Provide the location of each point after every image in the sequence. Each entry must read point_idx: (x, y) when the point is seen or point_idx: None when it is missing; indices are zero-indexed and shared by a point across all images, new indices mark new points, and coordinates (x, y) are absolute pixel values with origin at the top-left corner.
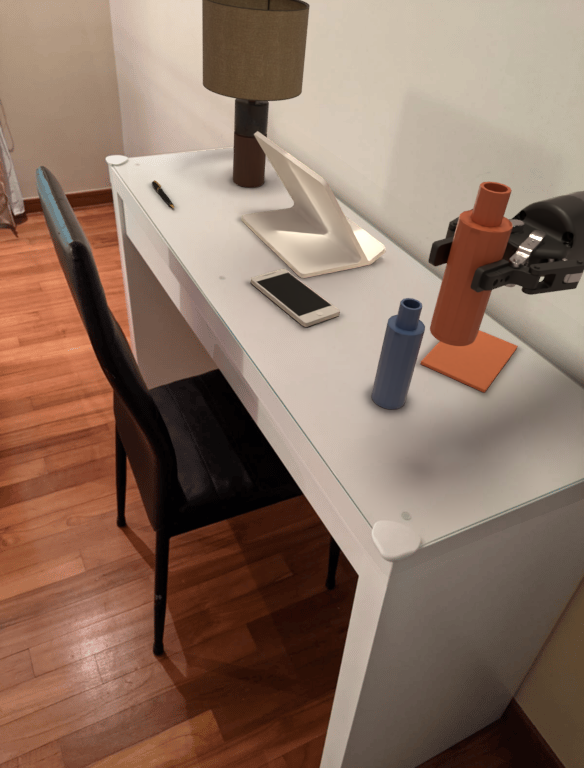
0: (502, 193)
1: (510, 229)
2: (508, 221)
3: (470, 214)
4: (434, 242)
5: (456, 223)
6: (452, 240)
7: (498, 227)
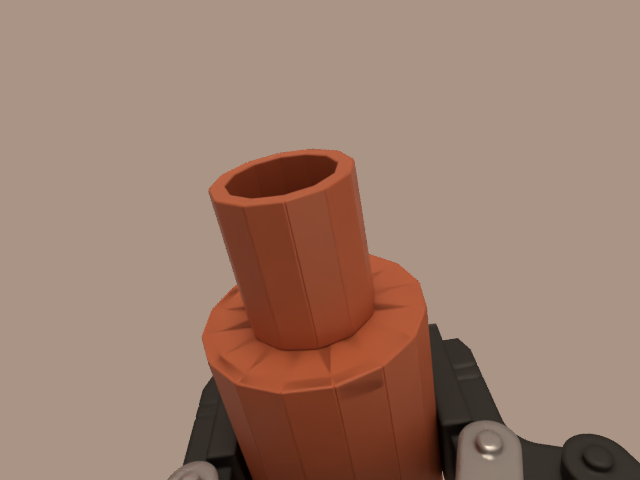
0: (222, 175)
1: (204, 348)
2: (254, 378)
3: (381, 286)
4: (463, 346)
5: (583, 451)
6: (434, 372)
7: (242, 316)
